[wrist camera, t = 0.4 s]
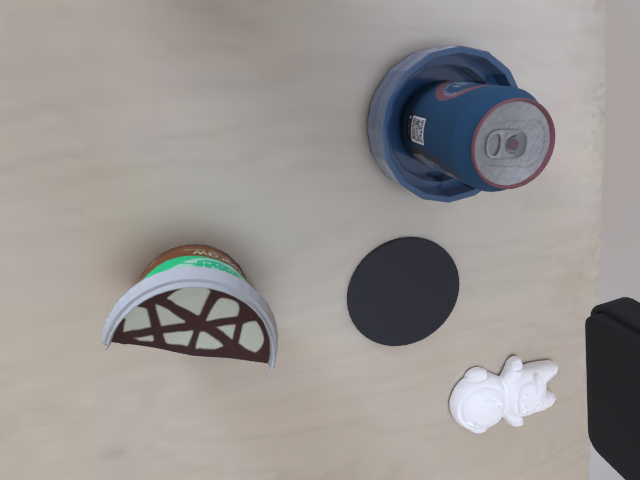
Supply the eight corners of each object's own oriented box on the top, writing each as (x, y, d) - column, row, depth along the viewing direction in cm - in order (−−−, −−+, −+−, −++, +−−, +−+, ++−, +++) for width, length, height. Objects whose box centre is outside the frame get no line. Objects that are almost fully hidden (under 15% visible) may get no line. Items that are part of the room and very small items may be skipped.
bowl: (354, 66, 41) (370, 66, 38) (490, 34, 43) (518, 31, 39) (378, 204, 46) (394, 217, 42) (501, 171, 47) (527, 180, 44)
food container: (280, 247, 45) (302, 296, 36) (262, 310, 47) (279, 373, 37) (131, 216, 41) (113, 261, 32) (117, 286, 43) (96, 348, 34)
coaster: (336, 255, 46) (337, 257, 46) (450, 223, 48) (452, 224, 48) (358, 357, 50) (359, 360, 50) (463, 325, 52) (464, 327, 52)
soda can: (477, 80, 44) (573, 88, 33) (467, 162, 46) (554, 196, 35) (399, 78, 42) (471, 87, 31) (393, 164, 44) (458, 200, 33)
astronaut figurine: (545, 415, 58) (563, 433, 56) (446, 432, 56) (459, 452, 53) (555, 346, 56) (574, 362, 53) (451, 362, 53) (465, 379, 50)
